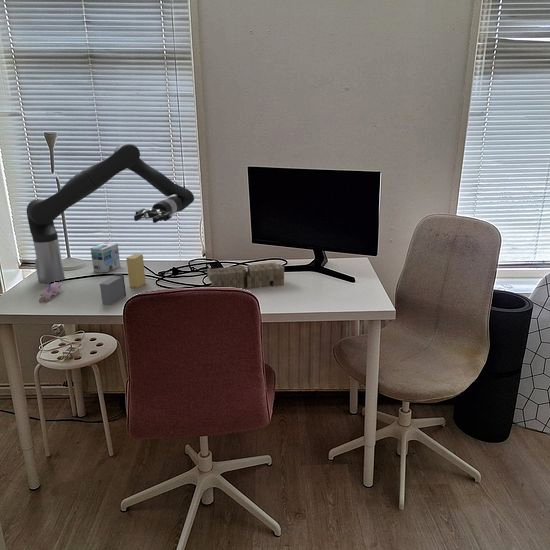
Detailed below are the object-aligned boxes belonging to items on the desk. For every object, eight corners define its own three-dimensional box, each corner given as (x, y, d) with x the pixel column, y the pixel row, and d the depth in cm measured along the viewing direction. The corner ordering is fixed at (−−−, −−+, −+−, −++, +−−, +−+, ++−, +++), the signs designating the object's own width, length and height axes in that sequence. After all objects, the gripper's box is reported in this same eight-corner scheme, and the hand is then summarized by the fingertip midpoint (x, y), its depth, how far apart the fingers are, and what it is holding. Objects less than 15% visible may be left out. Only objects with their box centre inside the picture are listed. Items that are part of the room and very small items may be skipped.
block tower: (278, 281, 201) (207, 287, 194) (279, 262, 199) (206, 266, 191) (284, 288, 194) (210, 294, 187) (284, 267, 191) (209, 272, 184)
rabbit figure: (52, 306, 181) (68, 286, 195) (48, 292, 179) (65, 273, 192) (35, 306, 182) (53, 286, 195) (31, 292, 179) (49, 273, 192)
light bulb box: (105, 273, 212) (102, 249, 208) (93, 272, 214) (89, 248, 211) (121, 266, 221) (118, 242, 218) (108, 264, 224) (105, 241, 220)
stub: (138, 282, 200) (134, 253, 196) (145, 282, 199) (142, 254, 195) (129, 287, 195) (126, 258, 191) (137, 287, 194) (134, 258, 190)
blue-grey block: (117, 295, 187) (114, 274, 185) (126, 295, 186) (123, 274, 184) (102, 304, 179) (99, 282, 176) (111, 305, 178) (108, 283, 175)
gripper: (149, 199, 213) (127, 208, 199) (178, 202, 209) (159, 212, 195) (151, 216, 216) (129, 226, 202) (180, 219, 212) (160, 230, 198)
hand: (144, 219), depth 198 cm, fingers open, 8 cm apart
